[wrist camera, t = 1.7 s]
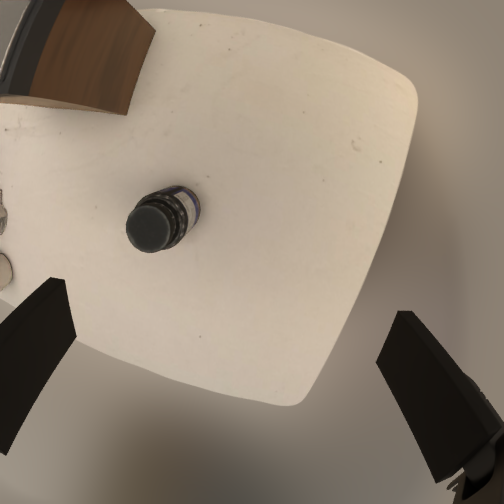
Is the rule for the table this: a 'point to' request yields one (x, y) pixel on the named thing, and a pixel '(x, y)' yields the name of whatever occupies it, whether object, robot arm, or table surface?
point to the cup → (4, 272)
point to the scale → (23, 41)
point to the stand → (90, 58)
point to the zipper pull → (2, 215)
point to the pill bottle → (162, 219)
